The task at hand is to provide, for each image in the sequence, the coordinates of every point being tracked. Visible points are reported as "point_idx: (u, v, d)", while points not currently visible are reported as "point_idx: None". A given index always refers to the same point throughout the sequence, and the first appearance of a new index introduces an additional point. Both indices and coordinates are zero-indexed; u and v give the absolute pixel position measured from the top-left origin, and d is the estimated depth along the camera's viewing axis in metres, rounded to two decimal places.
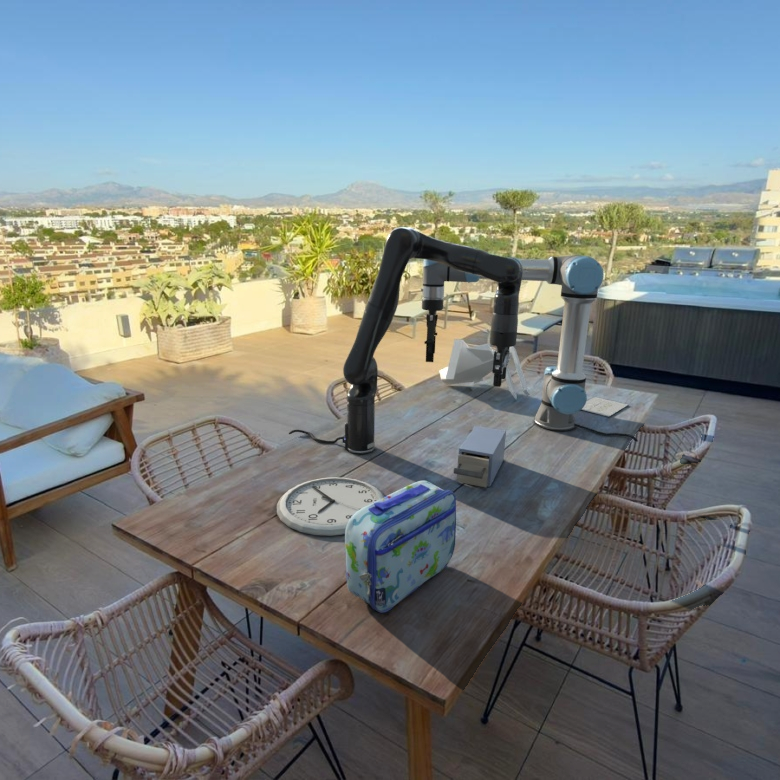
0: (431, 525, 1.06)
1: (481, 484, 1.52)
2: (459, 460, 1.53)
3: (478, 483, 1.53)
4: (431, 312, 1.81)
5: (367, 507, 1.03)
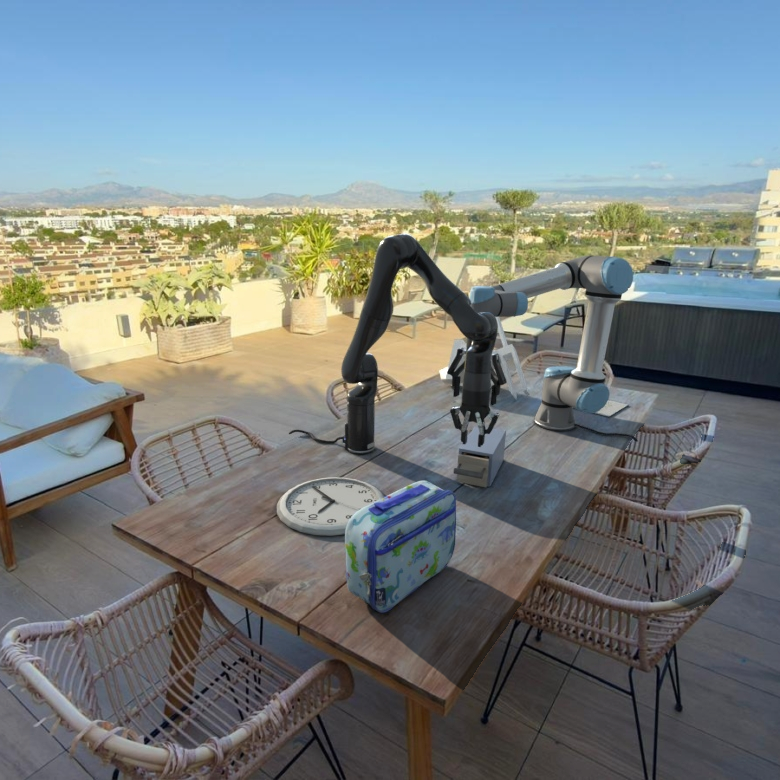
0: (431, 525, 1.06)
1: (481, 484, 1.52)
2: (459, 460, 1.53)
3: (478, 483, 1.53)
4: None
5: (367, 507, 1.03)
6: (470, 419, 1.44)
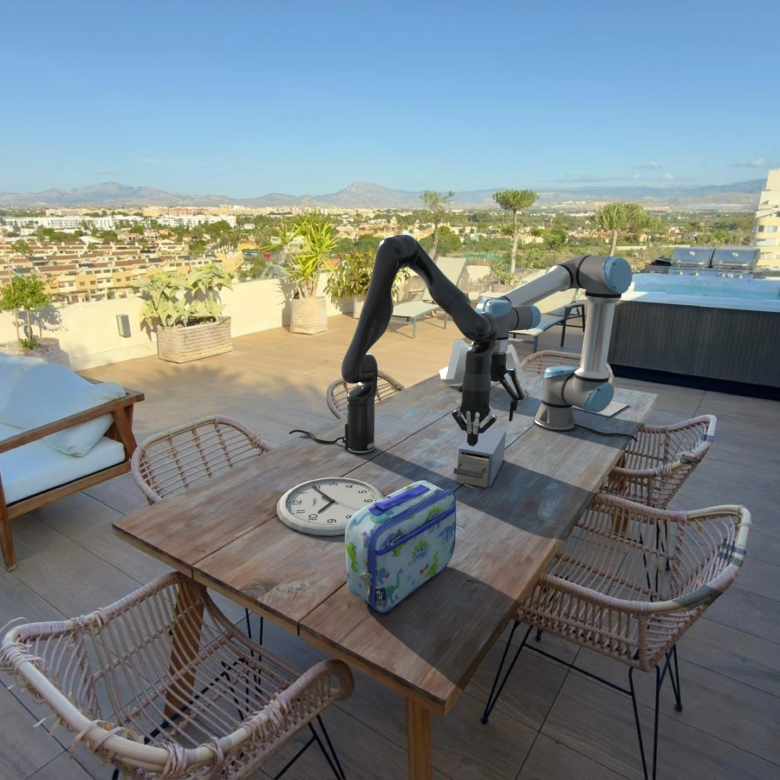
0: (431, 525, 1.06)
1: (481, 484, 1.52)
2: (459, 460, 1.53)
3: (478, 483, 1.53)
4: (505, 366, 1.60)
5: (367, 507, 1.03)
6: None
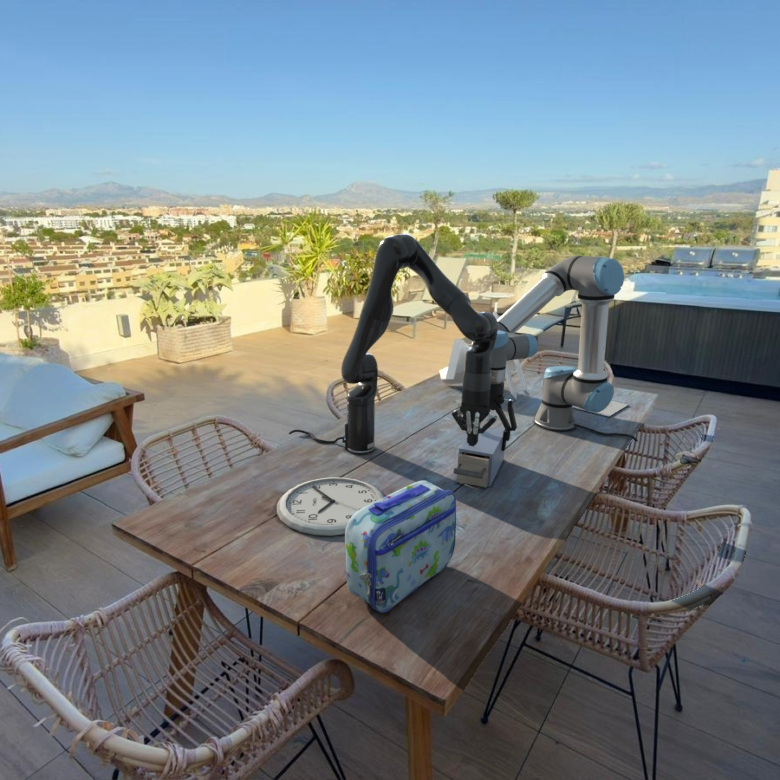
0: (431, 525, 1.06)
1: (481, 484, 1.52)
2: (459, 460, 1.53)
3: (478, 483, 1.53)
4: (503, 396, 1.63)
5: (367, 507, 1.03)
6: None
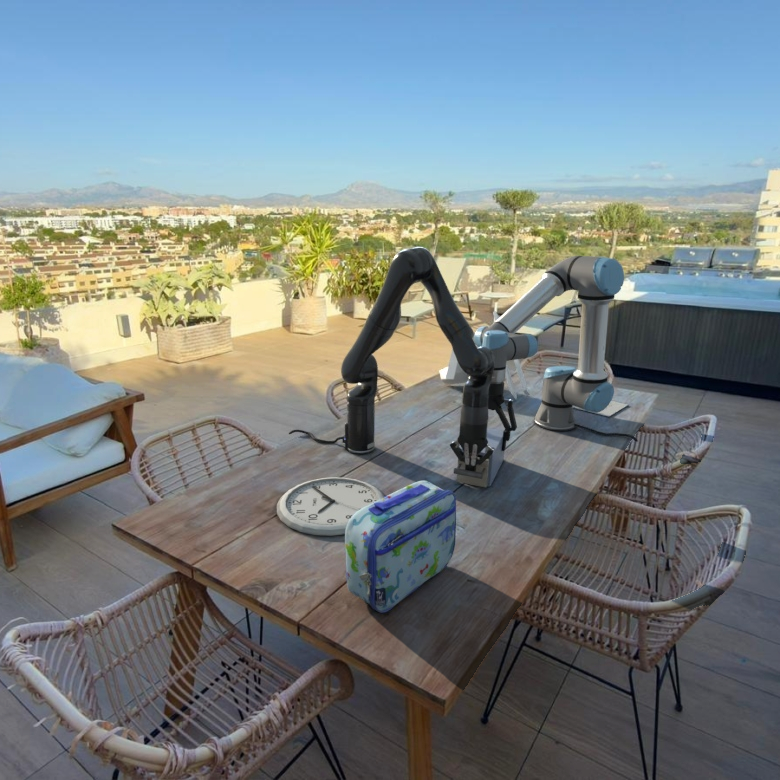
0: (431, 525, 1.06)
1: (481, 484, 1.52)
2: (459, 460, 1.53)
3: (478, 483, 1.53)
4: (503, 396, 1.63)
5: (367, 507, 1.03)
6: None
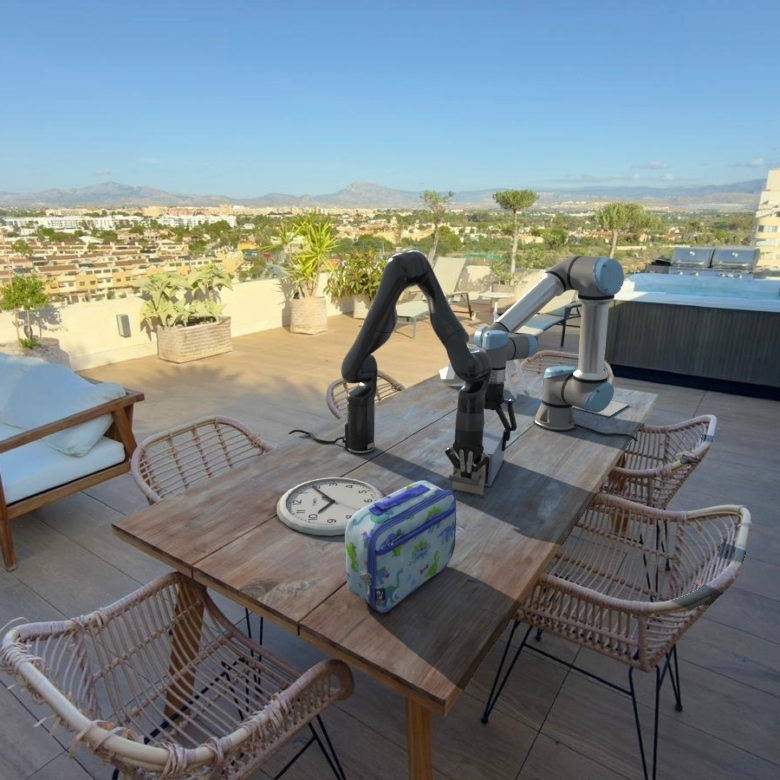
0: (431, 525, 1.06)
1: (477, 491, 1.48)
2: None
3: (474, 490, 1.48)
4: (502, 395, 1.62)
5: (367, 507, 1.03)
6: None
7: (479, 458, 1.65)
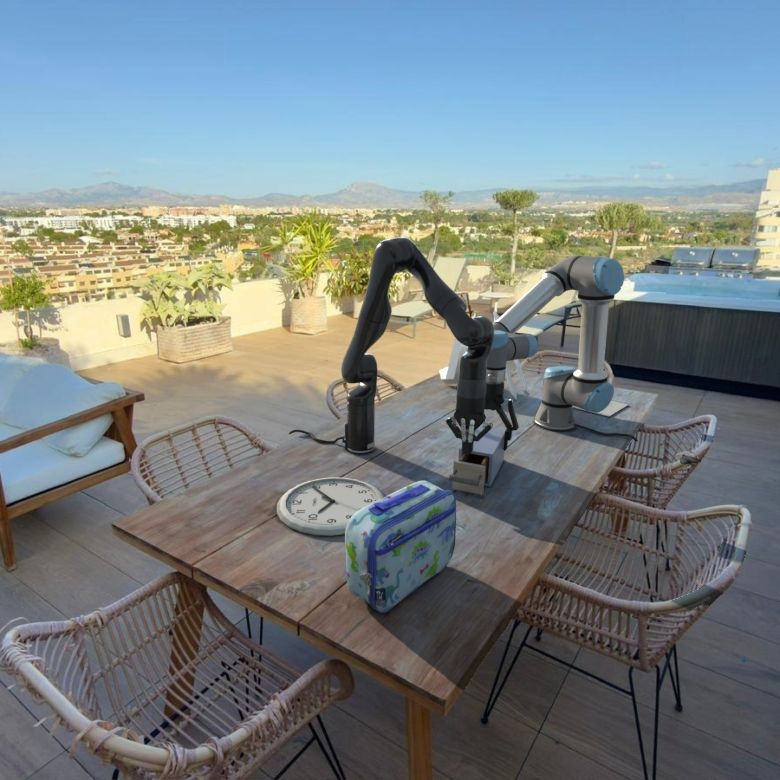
0: (431, 525, 1.06)
1: (477, 491, 1.48)
2: (455, 467, 1.49)
3: (474, 490, 1.48)
4: (503, 396, 1.62)
5: (367, 507, 1.03)
6: None
7: (479, 458, 1.65)
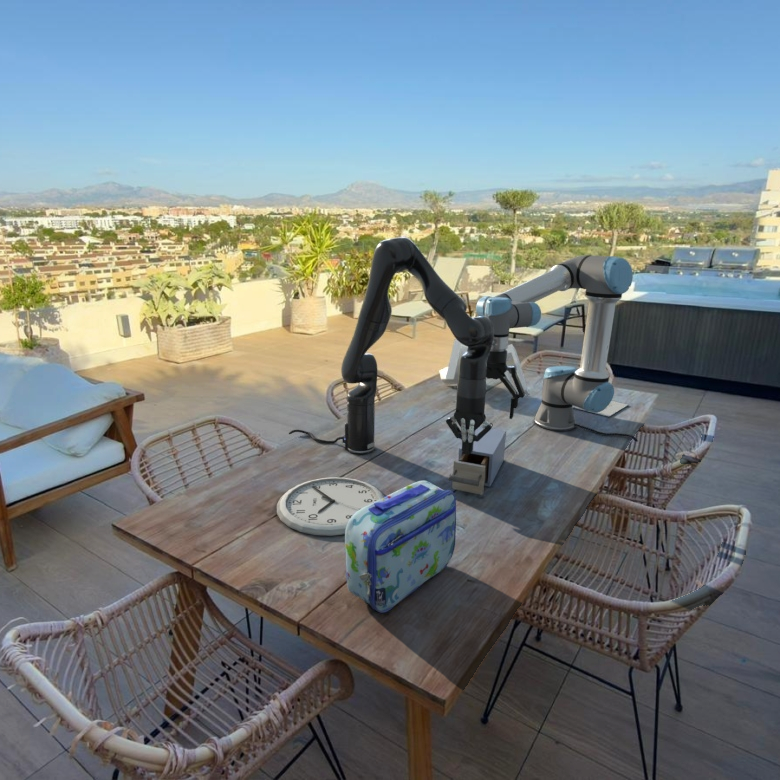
0: (431, 525, 1.06)
1: (477, 491, 1.48)
2: (455, 467, 1.49)
3: (474, 490, 1.48)
4: (505, 364, 1.59)
5: (367, 507, 1.03)
6: None
7: (479, 458, 1.65)
